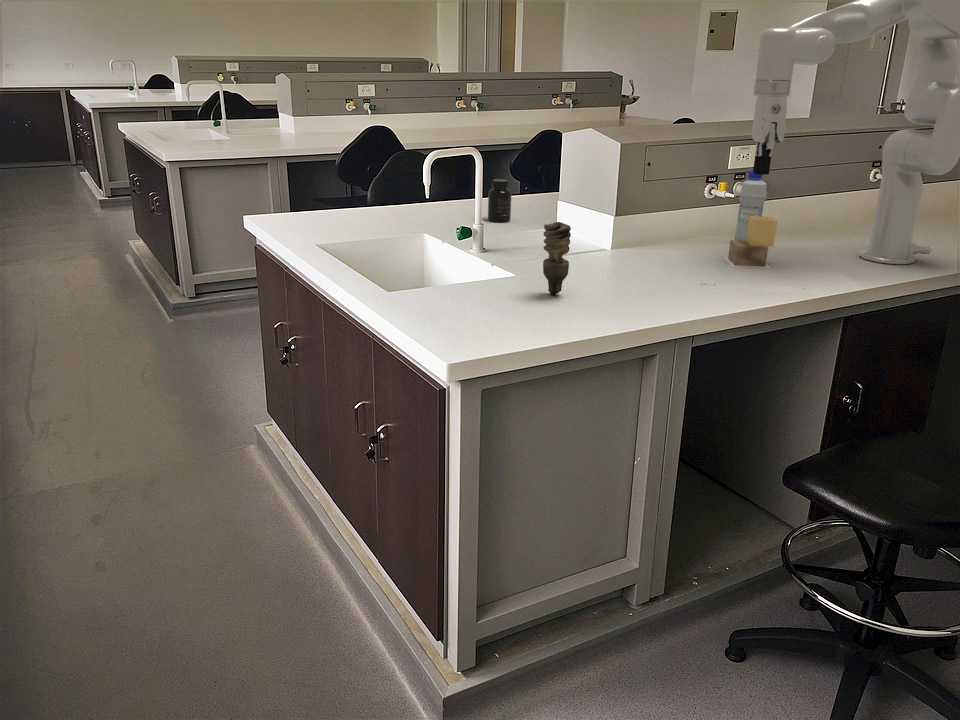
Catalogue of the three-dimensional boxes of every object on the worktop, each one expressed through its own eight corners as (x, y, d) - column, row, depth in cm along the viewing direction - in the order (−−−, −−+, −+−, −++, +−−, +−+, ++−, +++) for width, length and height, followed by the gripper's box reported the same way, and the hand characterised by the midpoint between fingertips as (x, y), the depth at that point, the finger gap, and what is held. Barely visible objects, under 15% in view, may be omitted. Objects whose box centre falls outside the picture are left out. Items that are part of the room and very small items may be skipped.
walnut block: (757, 259, 190) (760, 241, 188) (765, 266, 183) (768, 247, 182) (728, 258, 190) (730, 239, 189) (734, 265, 184) (737, 246, 182)
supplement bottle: (483, 219, 237) (484, 178, 233) (504, 218, 240) (505, 178, 236) (493, 223, 231) (495, 182, 227) (514, 222, 234) (516, 181, 230)
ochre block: (767, 242, 187) (771, 216, 185) (773, 246, 183) (777, 220, 180) (745, 241, 187) (749, 216, 185) (751, 245, 183) (755, 220, 181)
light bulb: (534, 294, 162) (538, 221, 157) (551, 289, 166) (556, 218, 160) (555, 300, 158) (559, 225, 153) (572, 295, 162) (577, 222, 156)
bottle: (730, 247, 209) (740, 170, 202) (735, 242, 214) (745, 167, 207) (756, 250, 206) (768, 172, 199) (760, 245, 212) (772, 169, 204)
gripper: (800, 90, 166) (787, 179, 172) (779, 87, 180) (768, 170, 186) (763, 90, 166) (752, 178, 173) (746, 87, 180) (736, 169, 187)
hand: (760, 173), depth 179 cm, fingers closed
